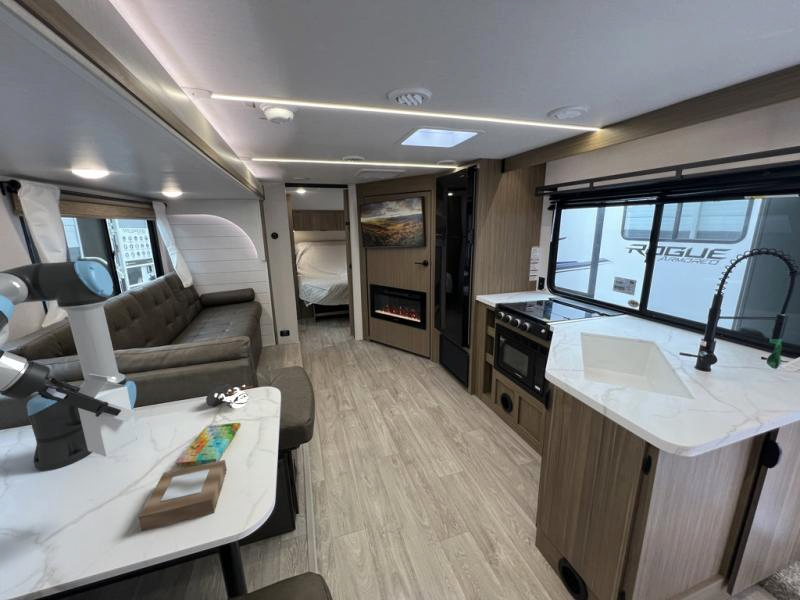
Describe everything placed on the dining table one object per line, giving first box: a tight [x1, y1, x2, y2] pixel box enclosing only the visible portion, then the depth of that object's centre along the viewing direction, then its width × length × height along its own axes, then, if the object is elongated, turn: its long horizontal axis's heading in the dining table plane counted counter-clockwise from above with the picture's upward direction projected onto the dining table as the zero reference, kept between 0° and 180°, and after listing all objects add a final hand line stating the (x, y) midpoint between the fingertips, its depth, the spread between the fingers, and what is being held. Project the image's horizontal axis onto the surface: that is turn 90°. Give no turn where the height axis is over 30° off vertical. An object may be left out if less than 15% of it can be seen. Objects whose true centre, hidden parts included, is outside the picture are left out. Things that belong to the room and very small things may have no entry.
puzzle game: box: [175, 422, 241, 469], centre depth 109 cm, size 12×5×20 cm
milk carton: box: [78, 374, 138, 457], centre depth 80 cm, size 7×7×19 cm
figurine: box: [205, 383, 254, 409], centre depth 138 cm, size 14×10×18 cm
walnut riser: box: [137, 459, 228, 532], centre depth 89 cm, size 16×16×4 cm
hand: (124, 411), depth 84 cm, fingers closed on milk carton, 8 cm apart
